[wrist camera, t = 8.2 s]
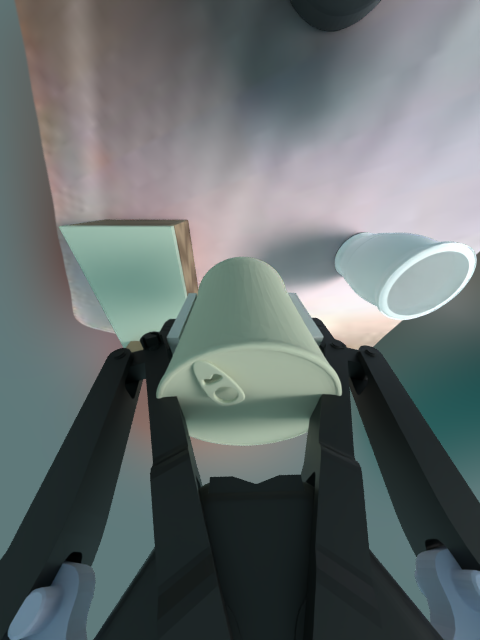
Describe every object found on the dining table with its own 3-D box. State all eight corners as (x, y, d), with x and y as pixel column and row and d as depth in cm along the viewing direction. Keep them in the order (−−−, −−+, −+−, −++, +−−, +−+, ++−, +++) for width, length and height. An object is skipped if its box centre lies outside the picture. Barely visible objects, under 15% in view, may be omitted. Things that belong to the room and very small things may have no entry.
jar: (327, 285, 37) (372, 327, 25) (329, 234, 31) (390, 256, 19) (379, 273, 36) (454, 311, 24) (391, 218, 30) (500, 230, 18)
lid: (66, 225, 22) (31, 230, 19) (173, 225, 23) (161, 230, 19) (128, 347, 35) (115, 365, 31) (196, 346, 35) (192, 364, 31)
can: (261, 235, 14) (317, 309, 5) (297, 313, 19) (363, 432, 9) (179, 287, 17) (101, 405, 7) (228, 345, 22) (223, 464, 12)
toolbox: (105, 219, 29) (68, 225, 23) (187, 219, 29) (174, 225, 23) (146, 323, 42) (129, 346, 35) (203, 322, 42) (197, 345, 36)
